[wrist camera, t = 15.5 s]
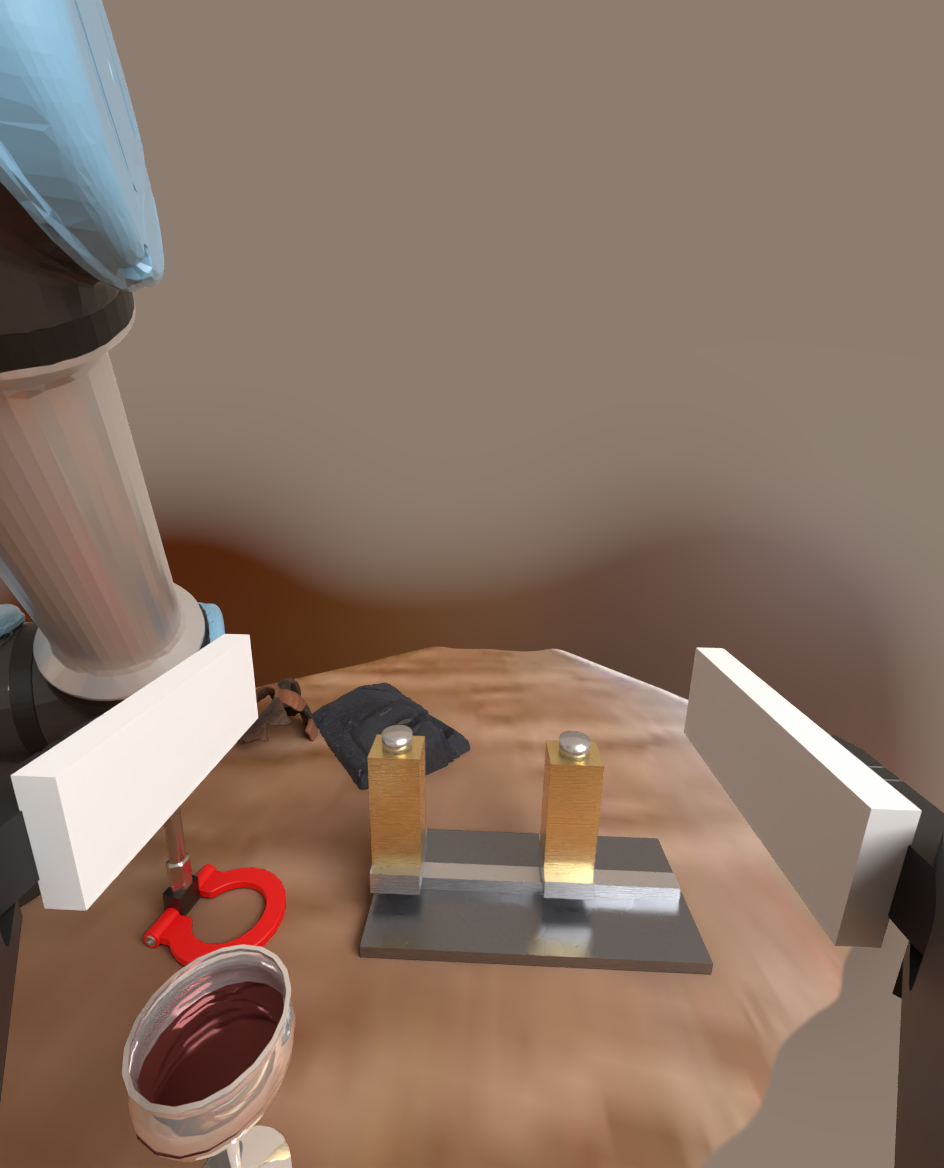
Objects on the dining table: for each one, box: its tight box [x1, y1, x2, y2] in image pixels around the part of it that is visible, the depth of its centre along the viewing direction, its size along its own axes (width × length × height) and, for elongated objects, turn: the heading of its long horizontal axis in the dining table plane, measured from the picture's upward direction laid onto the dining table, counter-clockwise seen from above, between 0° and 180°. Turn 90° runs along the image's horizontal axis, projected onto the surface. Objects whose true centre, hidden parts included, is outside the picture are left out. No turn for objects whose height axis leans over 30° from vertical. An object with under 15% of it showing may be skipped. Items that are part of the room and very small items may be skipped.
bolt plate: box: [360, 725, 713, 974], centre depth 40 cm, size 26×12×15 cm, turn 88°
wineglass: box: [122, 944, 296, 1168], centre depth 23 cm, size 7×7×12 cm
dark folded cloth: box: [312, 683, 470, 789], centre depth 65 cm, size 15×22×5 cm
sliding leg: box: [538, 731, 604, 900], centre depth 41 cm, size 4×7×14 cm, turn 178°
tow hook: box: [143, 806, 286, 966], centre depth 38 cm, size 8×13×9 cm
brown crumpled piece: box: [237, 678, 318, 744], centre depth 65 cm, size 12×10×8 cm
